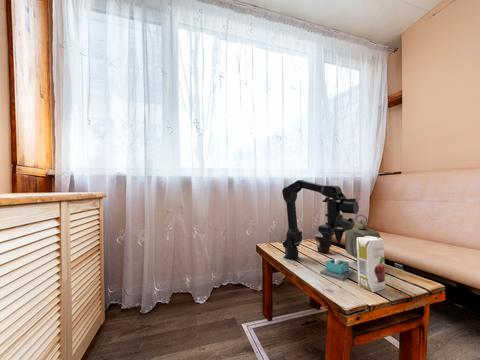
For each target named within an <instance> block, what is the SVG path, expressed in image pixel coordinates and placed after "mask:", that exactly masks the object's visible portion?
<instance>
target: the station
mask: <svg viewBox="0 0 480 360" xmlns="http://www.w3.org/2000/svg"><path fill="white" fill-rule="evenodd" d="M334 259H335V264H339V265H340V264H341V263H340V261H339V260H340V259H338V258H334ZM320 274H321V275H323V276H327V277H330V278H333V279H336V280H340V281H345V280H346V279H348V278H349V277H351V276H352V275H353V274H355V270H353V269H350V268H349V272H347V273H345V274H344V275H338V274H335V273H332V272H328V271H326V268H324V269H323V270H320Z"/></svg>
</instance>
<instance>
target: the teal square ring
mask: <svg viewBox="0 0 480 360" xmlns="http://www.w3.org/2000/svg"><path fill="white" fill-rule="evenodd" d="M335 259H336V258H331V259H329V260H327V261H325V269H326V271H328V272H332V273H335V274H338V275H344V274H345V273H347V272H349V269H350V263H349V262H348V261H346V260H341V259H338V260H339V261H340V263H341V264H340V265H339V264H335Z"/></svg>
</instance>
